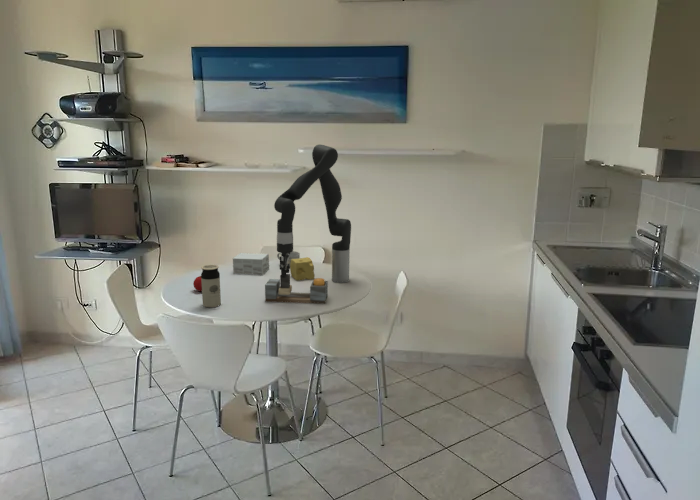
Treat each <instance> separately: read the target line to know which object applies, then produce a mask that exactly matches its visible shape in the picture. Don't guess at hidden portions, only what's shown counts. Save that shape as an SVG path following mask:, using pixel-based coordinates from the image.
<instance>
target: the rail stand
mask: <svg viewBox="0 0 700 500" xmlns="http://www.w3.org/2000/svg"><path fill="white" fill-rule="evenodd" d="M328 283H329V281H328V280H324V286H316V285H314V279H312V282H311V284H310V287H309V289H310V290H309V292H295V291H294V292H292V291H291V293H290V294H289V295H284V294H279V288H280V278H278V279H277V278H273V279H272V278H269V279H268V280H267V282H266V283H265V285H264V296H265V297H264V298H265V303H266V302H267V303H268V302H270V303H293V304H294V303H295V304H317V305H318V304H322V305H323V304H324V305H325V304H326V302H327V300H328V296H329V295H328V290H329V289H328V285H329V284H328Z"/></svg>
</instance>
